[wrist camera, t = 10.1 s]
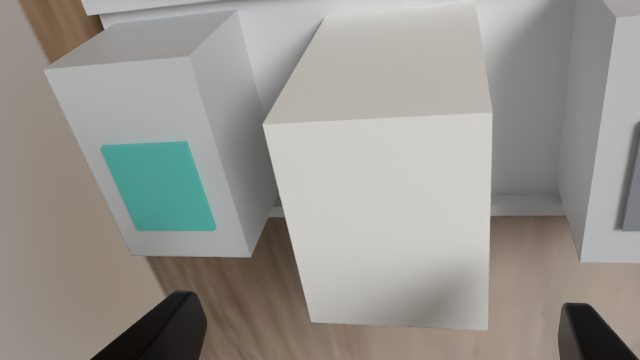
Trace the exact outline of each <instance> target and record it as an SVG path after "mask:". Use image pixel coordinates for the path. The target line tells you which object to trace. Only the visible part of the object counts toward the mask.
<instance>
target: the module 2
mask: <svg viewBox="0 0 640 360" xmlns="http://www.w3.org/2000/svg"><path fill="white" fill-rule="evenodd" d="M556 183H557V187H558V190H559V193H560V197H561V200H562V204H563V207H564V210H565V214H566V217H567V220H568V224H569V227H570V230H571V234H572V237H573V241H574V244H575V247H576V251H577V254H578V257H579V261H580V262H605V263H640V0H575V5H574V15H573V25H572V34H571V44H570V53H569V63H568V73H567V82H566V92H565V101H564V111H563V121H562V130H561V140H560V150H559V159H558V169H557V178H556Z"/></svg>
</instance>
